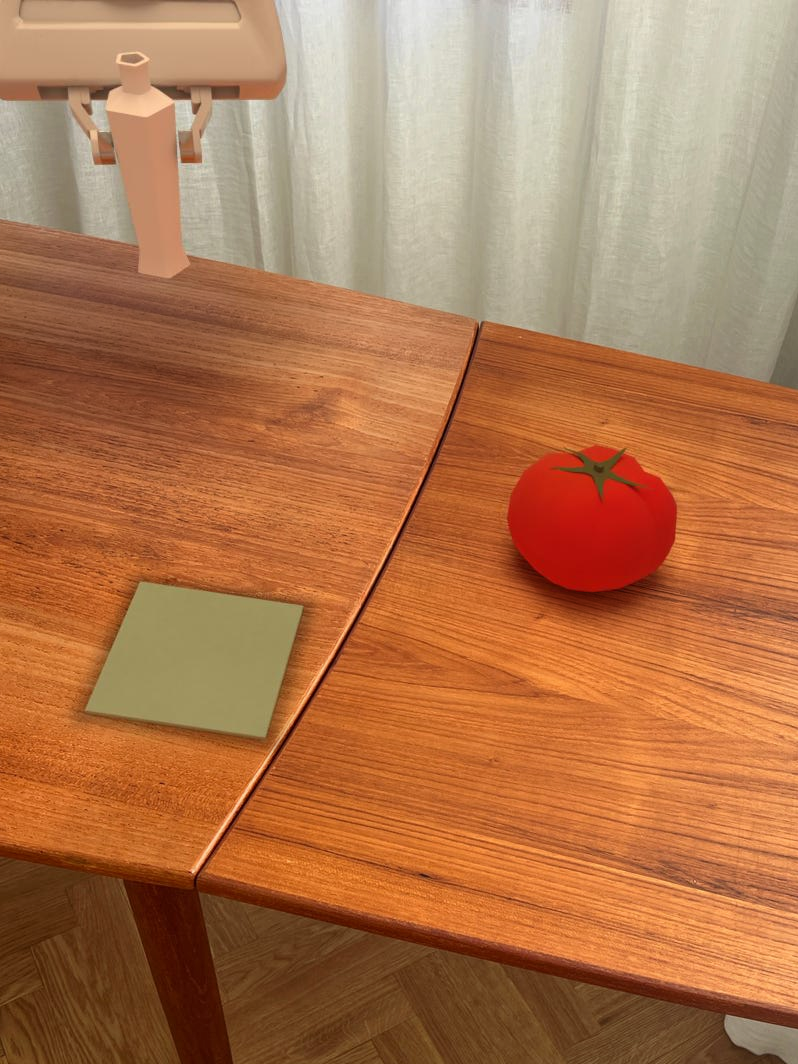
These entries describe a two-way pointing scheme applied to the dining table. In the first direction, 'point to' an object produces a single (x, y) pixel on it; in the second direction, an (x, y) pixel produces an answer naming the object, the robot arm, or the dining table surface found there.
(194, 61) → the robot arm
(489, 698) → the dining table surface
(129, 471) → the dining table surface
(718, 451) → the dining table surface
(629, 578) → the tomato
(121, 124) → the perfume bottle
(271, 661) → the front mat
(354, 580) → the dining table surface
